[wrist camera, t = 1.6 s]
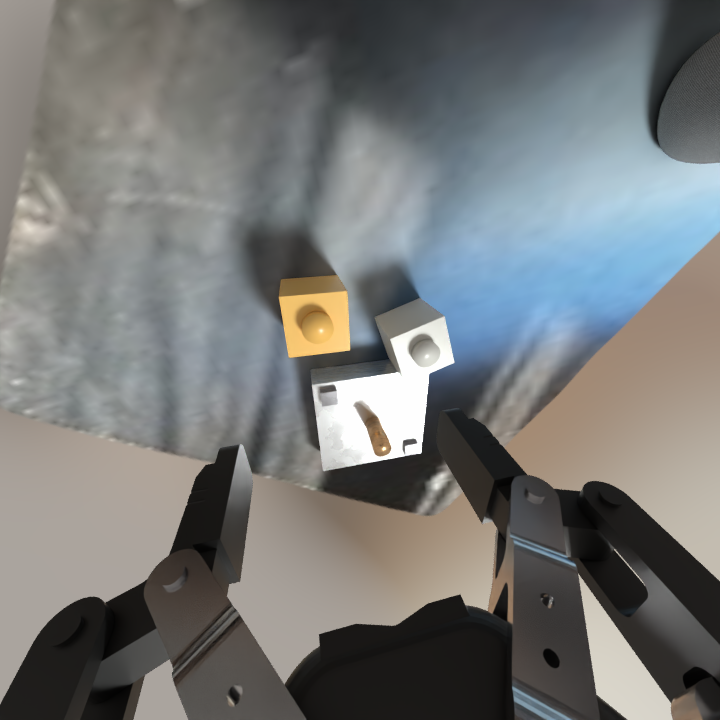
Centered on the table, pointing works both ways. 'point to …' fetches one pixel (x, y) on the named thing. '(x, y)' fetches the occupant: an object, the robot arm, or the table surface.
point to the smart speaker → (693, 109)
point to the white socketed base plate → (367, 413)
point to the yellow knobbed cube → (315, 315)
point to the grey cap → (415, 339)
